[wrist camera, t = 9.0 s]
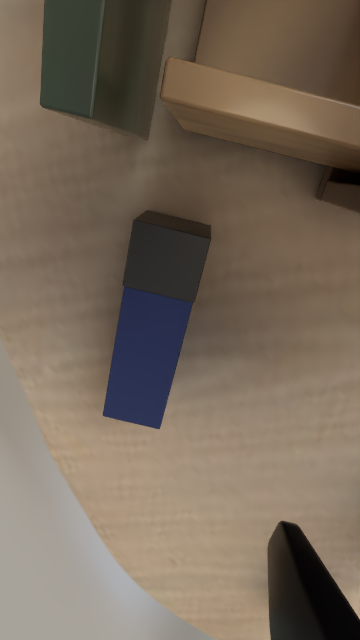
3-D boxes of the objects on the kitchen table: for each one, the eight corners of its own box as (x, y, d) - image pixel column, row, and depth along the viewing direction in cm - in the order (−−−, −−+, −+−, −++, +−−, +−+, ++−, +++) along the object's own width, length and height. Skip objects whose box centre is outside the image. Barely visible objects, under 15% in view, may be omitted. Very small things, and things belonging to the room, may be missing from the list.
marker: (167, 394, 20) (160, 431, 18) (116, 382, 20) (100, 417, 17) (211, 225, 16) (211, 238, 13) (146, 209, 16) (133, 219, 13)
